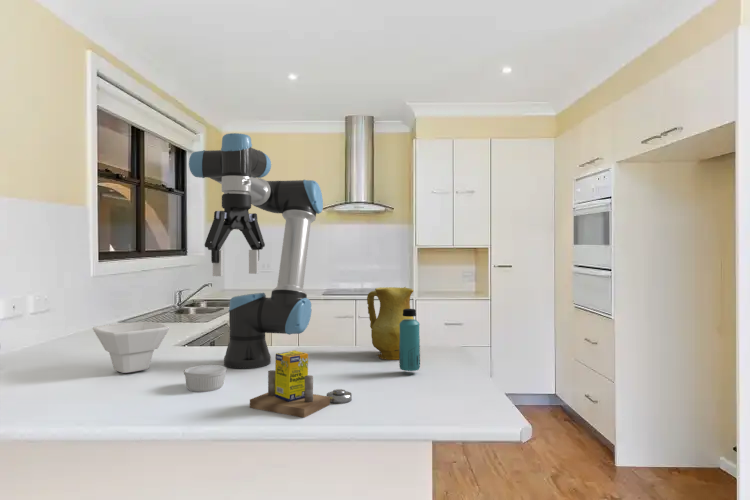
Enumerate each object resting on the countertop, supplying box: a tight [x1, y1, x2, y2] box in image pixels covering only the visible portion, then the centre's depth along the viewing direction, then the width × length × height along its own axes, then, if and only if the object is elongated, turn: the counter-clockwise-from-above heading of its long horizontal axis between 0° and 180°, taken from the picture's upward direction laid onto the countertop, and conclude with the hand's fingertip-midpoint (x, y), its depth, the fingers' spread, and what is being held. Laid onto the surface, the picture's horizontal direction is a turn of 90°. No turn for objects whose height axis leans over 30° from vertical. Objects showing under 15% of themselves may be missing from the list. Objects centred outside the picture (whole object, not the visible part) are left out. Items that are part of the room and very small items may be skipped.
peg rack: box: [249, 369, 331, 418], centre depth 129 cm, size 16×11×8 cm
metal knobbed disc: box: [326, 388, 353, 405], centre depth 135 cm, size 6×6×2 cm
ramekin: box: [183, 364, 227, 393], centre depth 146 cm, size 11×11×5 cm
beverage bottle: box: [398, 308, 421, 372], centre depth 162 cm, size 6×7×20 cm
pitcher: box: [366, 286, 414, 361], centre depth 188 cm, size 17×19×25 cm
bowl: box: [92, 321, 170, 374], centre depth 164 cm, size 19×19×14 cm
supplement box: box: [274, 350, 309, 402], centre depth 130 cm, size 6×6×11 cm
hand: (236, 275), depth 138 cm, fingers open, 13 cm apart
